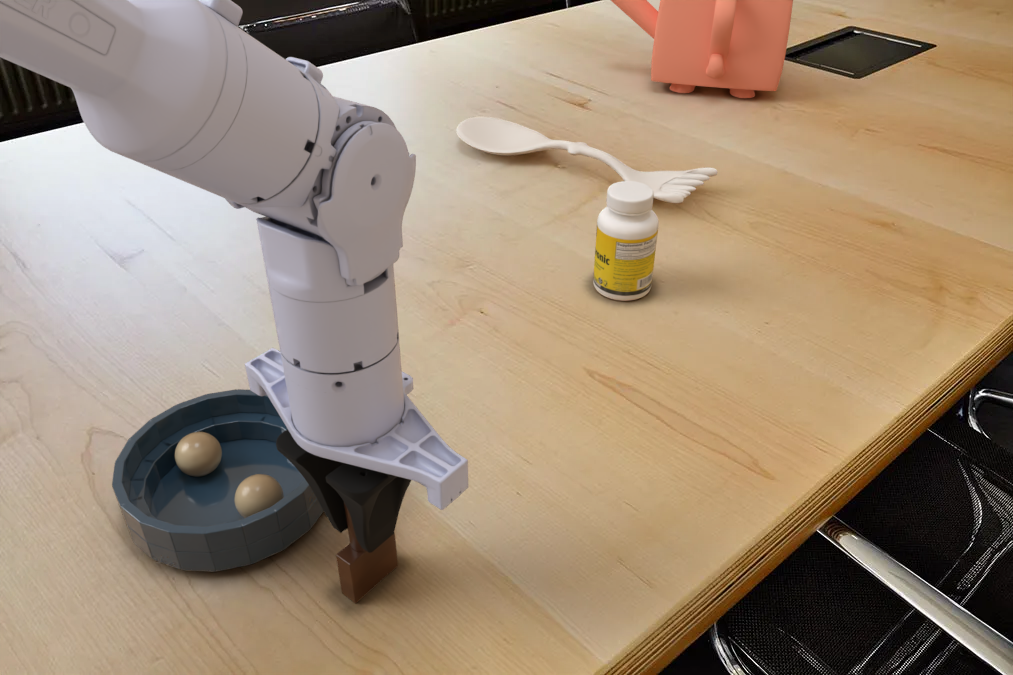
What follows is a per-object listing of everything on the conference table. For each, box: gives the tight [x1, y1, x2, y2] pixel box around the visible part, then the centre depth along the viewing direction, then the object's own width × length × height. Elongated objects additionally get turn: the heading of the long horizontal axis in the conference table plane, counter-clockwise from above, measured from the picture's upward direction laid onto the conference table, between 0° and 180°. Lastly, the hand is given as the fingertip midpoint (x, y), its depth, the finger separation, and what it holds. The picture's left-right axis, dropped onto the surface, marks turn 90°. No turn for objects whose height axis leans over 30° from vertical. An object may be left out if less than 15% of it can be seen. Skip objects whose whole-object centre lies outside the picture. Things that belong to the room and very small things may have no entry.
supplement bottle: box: [592, 180, 659, 302], centre depth 76 cm, size 5×5×10 cm
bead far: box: [175, 432, 222, 477], centre depth 58 cm, size 3×3×3 cm
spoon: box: [455, 115, 718, 204], centre depth 99 cm, size 9×32×4 cm, turn 54°
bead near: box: [235, 474, 284, 518], centre depth 54 cm, size 3×3×3 cm
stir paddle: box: [335, 503, 399, 604], centre depth 49 cm, size 4×2×9 cm, turn 142°
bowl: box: [111, 388, 324, 572], centre depth 56 cm, size 13×13×4 cm
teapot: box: [610, 0, 794, 99], centre depth 121 cm, size 25×23×18 cm
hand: (364, 530), depth 49 cm, fingers closed on stir paddle, 2 cm apart
